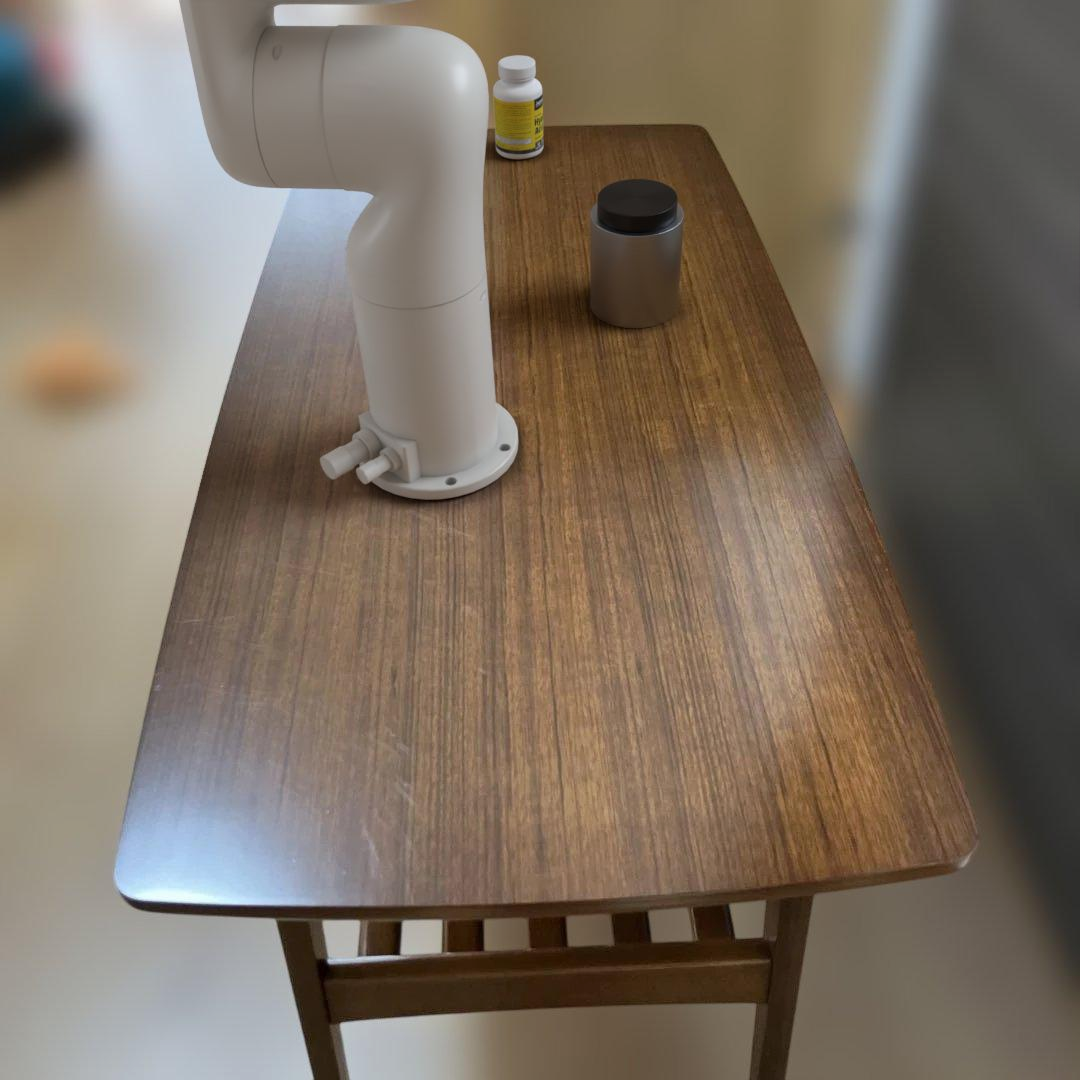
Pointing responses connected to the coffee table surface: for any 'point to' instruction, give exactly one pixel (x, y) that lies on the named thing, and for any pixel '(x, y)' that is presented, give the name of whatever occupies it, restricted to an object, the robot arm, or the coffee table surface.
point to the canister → (635, 253)
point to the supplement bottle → (518, 109)
